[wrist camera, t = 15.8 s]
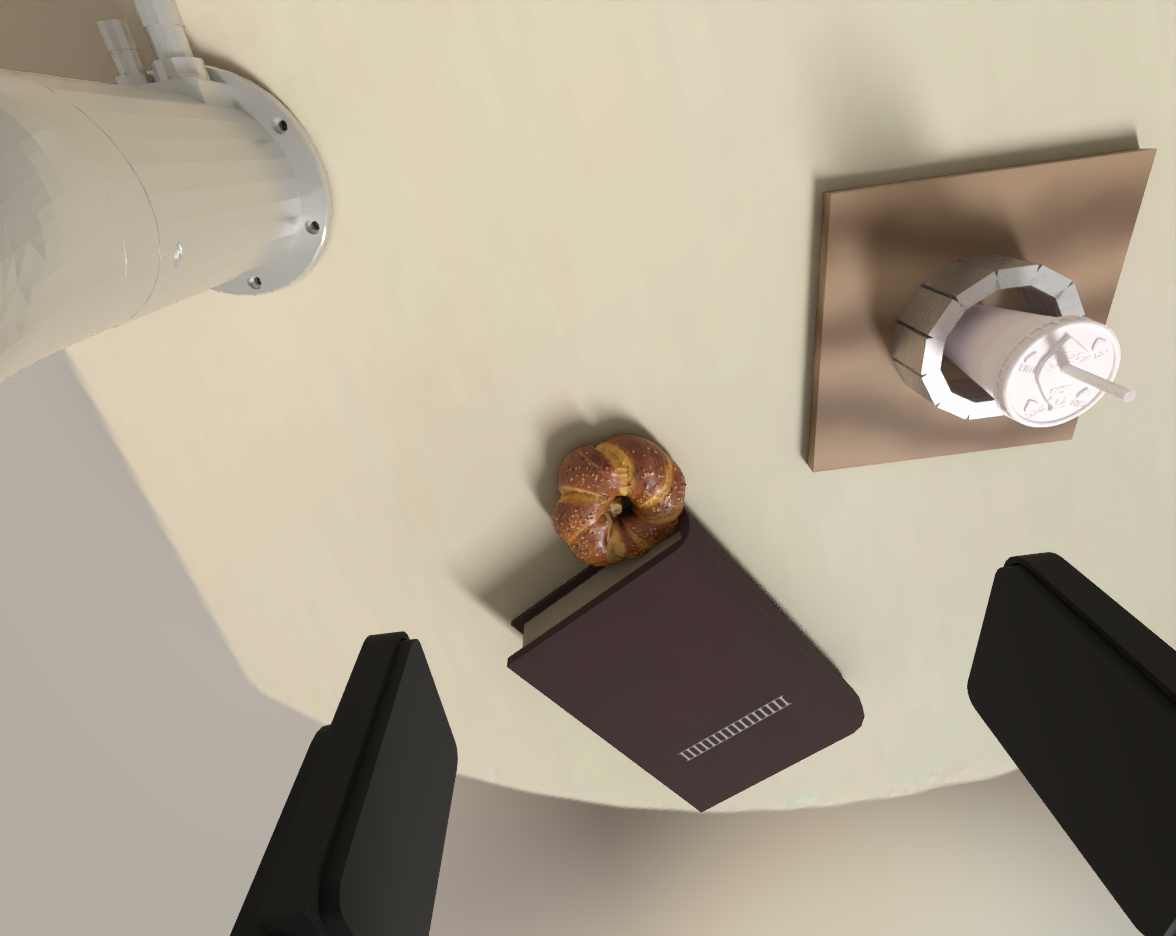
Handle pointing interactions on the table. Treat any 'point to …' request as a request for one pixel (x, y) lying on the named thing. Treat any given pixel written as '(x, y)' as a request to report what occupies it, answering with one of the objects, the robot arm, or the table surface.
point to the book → (685, 669)
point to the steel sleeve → (944, 306)
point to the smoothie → (1037, 362)
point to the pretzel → (617, 499)
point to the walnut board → (924, 247)
